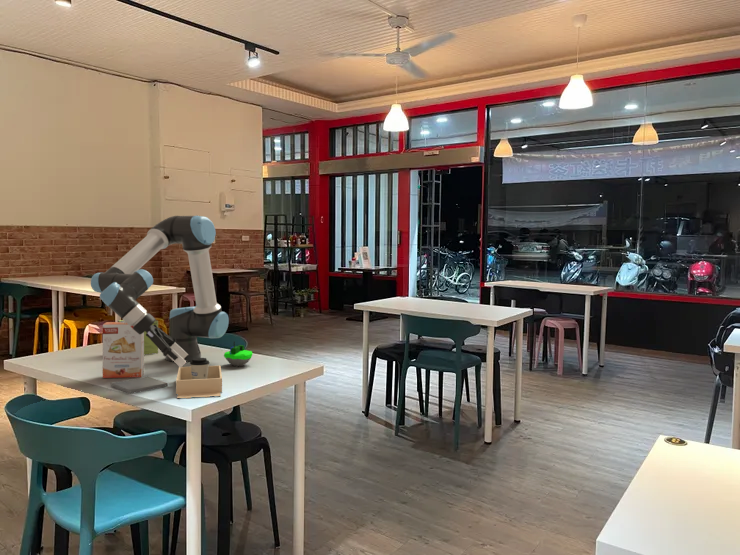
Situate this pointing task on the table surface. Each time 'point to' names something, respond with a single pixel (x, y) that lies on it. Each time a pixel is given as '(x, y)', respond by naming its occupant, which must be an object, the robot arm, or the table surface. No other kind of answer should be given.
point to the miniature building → (238, 355)
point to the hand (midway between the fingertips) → (184, 360)
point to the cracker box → (122, 351)
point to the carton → (199, 383)
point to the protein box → (148, 342)
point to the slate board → (139, 384)
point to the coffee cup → (199, 368)
